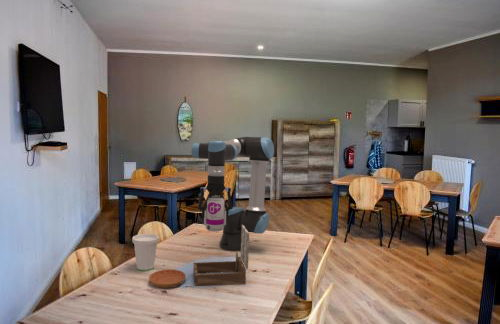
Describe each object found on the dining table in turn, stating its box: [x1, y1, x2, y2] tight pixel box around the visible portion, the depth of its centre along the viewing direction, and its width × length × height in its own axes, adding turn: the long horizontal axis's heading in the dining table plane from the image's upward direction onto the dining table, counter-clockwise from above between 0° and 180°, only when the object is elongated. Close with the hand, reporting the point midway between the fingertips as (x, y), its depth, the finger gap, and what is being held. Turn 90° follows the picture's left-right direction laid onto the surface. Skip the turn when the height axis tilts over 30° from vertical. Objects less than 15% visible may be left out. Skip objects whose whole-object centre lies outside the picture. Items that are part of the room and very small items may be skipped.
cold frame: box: [192, 225, 250, 287], centre depth 172 cm, size 15×23×23 cm, turn 101°
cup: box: [131, 233, 160, 272], centre depth 182 cm, size 12×12×15 cm
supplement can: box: [205, 195, 225, 233], centre depth 170 cm, size 8×8×15 cm
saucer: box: [148, 269, 187, 289], centre depth 167 cm, size 16×16×3 cm
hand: (214, 224), depth 170 cm, fingers closed on supplement can, 8 cm apart
